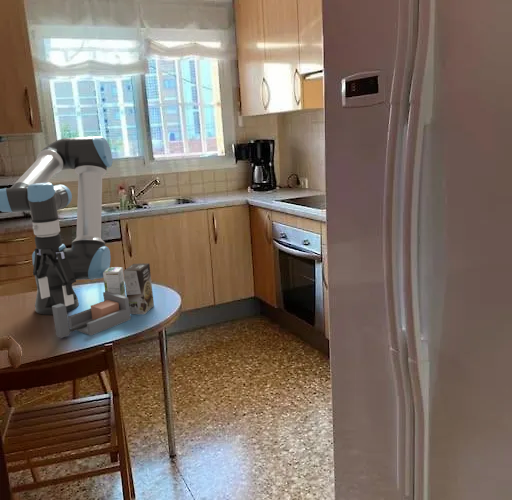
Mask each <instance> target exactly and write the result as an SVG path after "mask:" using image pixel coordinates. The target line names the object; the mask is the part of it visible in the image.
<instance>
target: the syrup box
mask: <svg viewBox="0 0 512 500" xmlns="http://www.w3.org/2000/svg"><path fill="white" fill-rule="evenodd" d="M103 285H104V292H106V291H107V292H111V293H114V294H118V295H122V296H126V288H125V279H124V267H123V266H122V267H120V266H114V267H112V266H111V267H109V268H107V269H106V270H105V271H104V272H103Z"/></svg>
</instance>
